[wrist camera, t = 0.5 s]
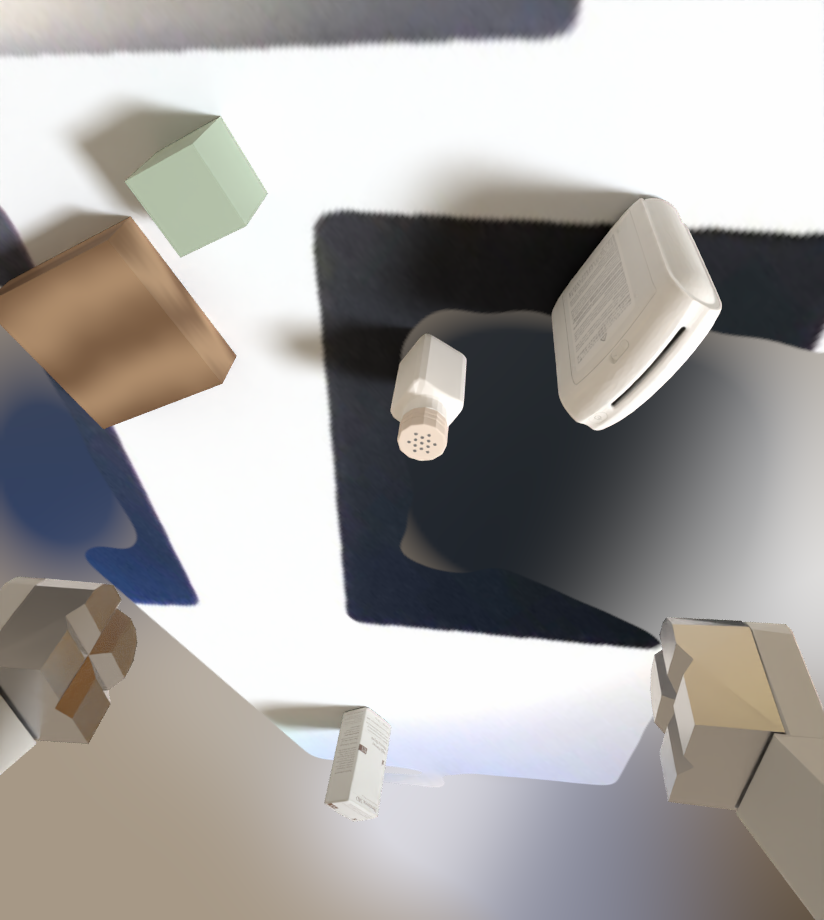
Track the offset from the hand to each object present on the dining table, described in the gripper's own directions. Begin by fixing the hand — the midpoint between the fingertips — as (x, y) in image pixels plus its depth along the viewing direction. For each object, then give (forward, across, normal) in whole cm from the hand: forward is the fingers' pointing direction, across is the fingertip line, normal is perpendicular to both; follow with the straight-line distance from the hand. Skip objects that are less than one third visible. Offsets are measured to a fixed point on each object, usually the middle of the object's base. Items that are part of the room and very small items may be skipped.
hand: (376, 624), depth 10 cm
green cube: (+36, +17, +2) cm, 40 cm away
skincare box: (+43, +16, +74) cm, 88 cm away
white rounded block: (+38, -8, +9) cm, 40 cm away
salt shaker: (+38, +4, +16) cm, 41 cm away
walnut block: (+37, +27, +12) cm, 48 cm away
